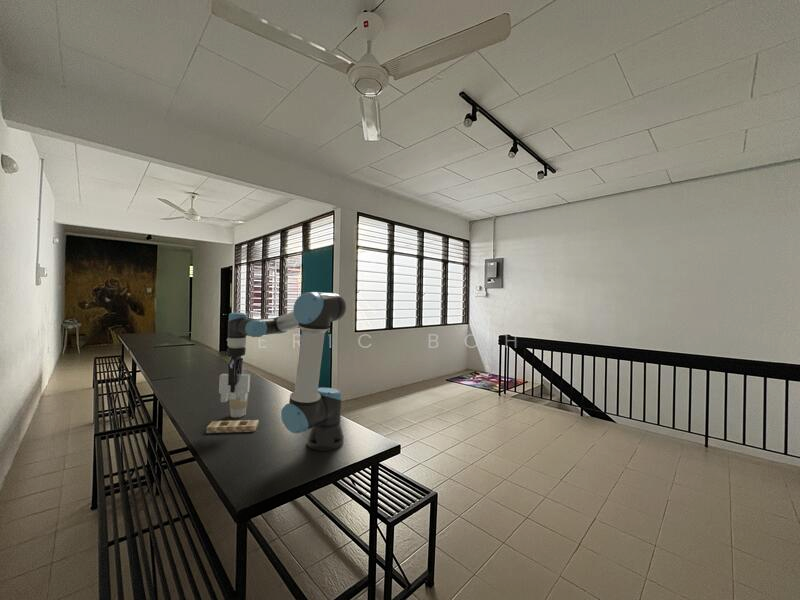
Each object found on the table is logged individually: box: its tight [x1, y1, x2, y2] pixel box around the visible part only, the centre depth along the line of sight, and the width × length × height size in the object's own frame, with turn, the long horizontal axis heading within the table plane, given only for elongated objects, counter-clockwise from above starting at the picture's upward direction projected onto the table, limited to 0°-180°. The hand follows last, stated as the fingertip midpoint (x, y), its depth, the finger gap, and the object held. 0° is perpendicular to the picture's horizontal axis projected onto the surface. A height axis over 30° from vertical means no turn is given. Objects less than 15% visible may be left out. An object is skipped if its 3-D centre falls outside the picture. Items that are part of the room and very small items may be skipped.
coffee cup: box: [228, 392, 249, 419], centre depth 163 cm, size 9×9×15 cm
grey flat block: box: [218, 373, 251, 403], centre depth 146 cm, size 12×3×12 cm, turn 101°
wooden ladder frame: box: [206, 419, 260, 434], centre depth 147 cm, size 20×7×2 cm, turn 101°
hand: (234, 397), depth 146 cm, fingers closed on grey flat block, 3 cm apart
